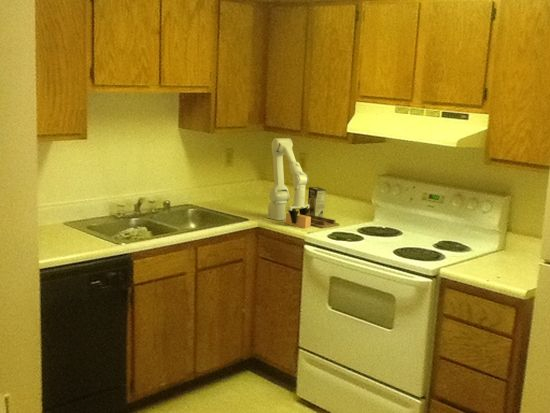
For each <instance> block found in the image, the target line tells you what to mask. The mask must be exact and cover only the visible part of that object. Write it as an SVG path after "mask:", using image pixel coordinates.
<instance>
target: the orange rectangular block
mask: <svg viewBox="0 0 550 413" xmlns="http://www.w3.org/2000/svg"><path fill="white" fill-rule="evenodd" d="M285 218H286V220H285V225H288V224H289V226H292V225H294V227H297V228H301V229H304V230H306V229H310V228H311V226H310V224H311V217H310V216H305V215H301V214H300V213H298V214H297V218H296V224H294V223H292V220H291V216H290V214H289V212H285Z"/></svg>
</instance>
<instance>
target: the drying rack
mask: <svg viewBox="0 0 550 413" xmlns="http://www.w3.org/2000/svg"><path fill="white" fill-rule="evenodd" d="M306 216H310V217H311V224H310V227H314V228H319V229H328V228H333V227H339V226H341V225H340V223H337V222H336V219H332V218H328V217H325V216H324V217H319V216H315V215H311V214H307V215H306Z"/></svg>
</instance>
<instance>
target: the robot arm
mask: <svg viewBox="0 0 550 413" xmlns="http://www.w3.org/2000/svg"><path fill="white" fill-rule="evenodd" d="M293 146H294V144H293V140H292V139H291V138H290V137H287V138H282V137H281V138H277V137H276V138H275V137H274V138H273V140H272V141H271V154H272V160H273V164H272V165H273V179H274V185H273V186H272V187H271V188H270V192H269V193H270V194H269V200H270V202H269V204H268V205H267V206H268V207H267V216H266V218H267V219H271V220H275V221H286V208H287V211H288V212H287V213H289V214H290V216H291V220H292V223H294V224H296V218H297V214H301V215H305V216H306V215H307V213H308V211H309V209H308V208H309V204H308V203H305V202H306V201H305V199H306V186H307V184H309V176H308V174H306V173H305V172H304V171H303V169H302V167H301V164H300V162H299V161H297V160H296V157H295V153H294V151H293ZM284 155H285V157H286V159H287V161H288V163H289V170H290V172H291V175H292V177H293V178H292V184H293V188H294V190H293V191H294V193H293V194H294V195H293V205H289V206H288V205H287V204H288V202H289V200H290V197H291V196H290V192H289V187H287V186H286V185H285V174H284V160H283V159H284V158H283V157H284ZM287 206H288V207H287Z"/></svg>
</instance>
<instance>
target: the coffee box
mask: <svg viewBox="0 0 550 413" xmlns="http://www.w3.org/2000/svg"><path fill="white" fill-rule="evenodd" d="M307 195H308V196H307V204H309V208H307V209H309V211H308V213H307V214H311V215H315V216H319V217H324V218H325V210H326V208H325V207H326V198H327V196H326V195H327V189H325V188H321V187H319V186H309V187H308V194H307Z"/></svg>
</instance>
